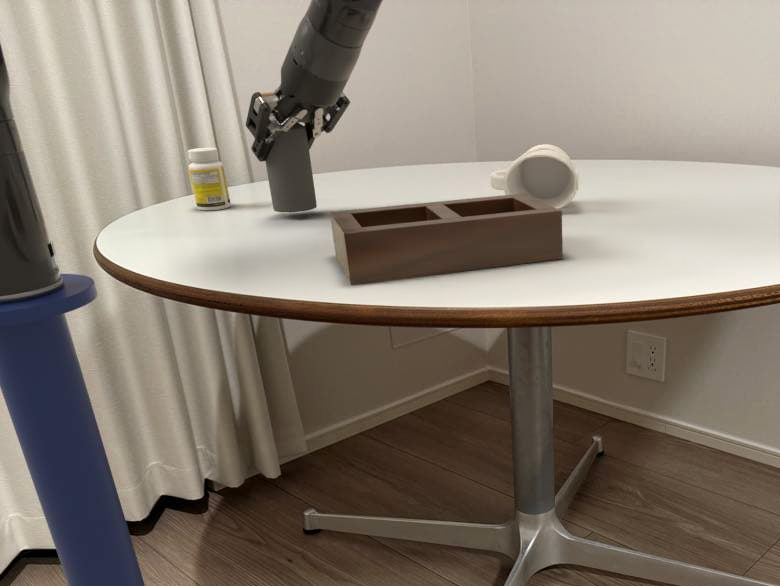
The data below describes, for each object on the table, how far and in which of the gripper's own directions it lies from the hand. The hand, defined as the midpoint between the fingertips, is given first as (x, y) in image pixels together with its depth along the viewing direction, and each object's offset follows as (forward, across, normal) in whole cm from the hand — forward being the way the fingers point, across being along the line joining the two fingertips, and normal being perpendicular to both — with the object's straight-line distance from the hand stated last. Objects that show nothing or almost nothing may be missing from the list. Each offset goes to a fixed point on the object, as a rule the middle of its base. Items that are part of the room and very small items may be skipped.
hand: (279, 153), depth 107 cm
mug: (-14, -20, +26) cm, 36 cm away
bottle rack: (-20, +7, +32) cm, 39 cm away
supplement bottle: (+17, +2, -5) cm, 18 cm away
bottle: (+4, 0, +6) cm, 8 cm away
